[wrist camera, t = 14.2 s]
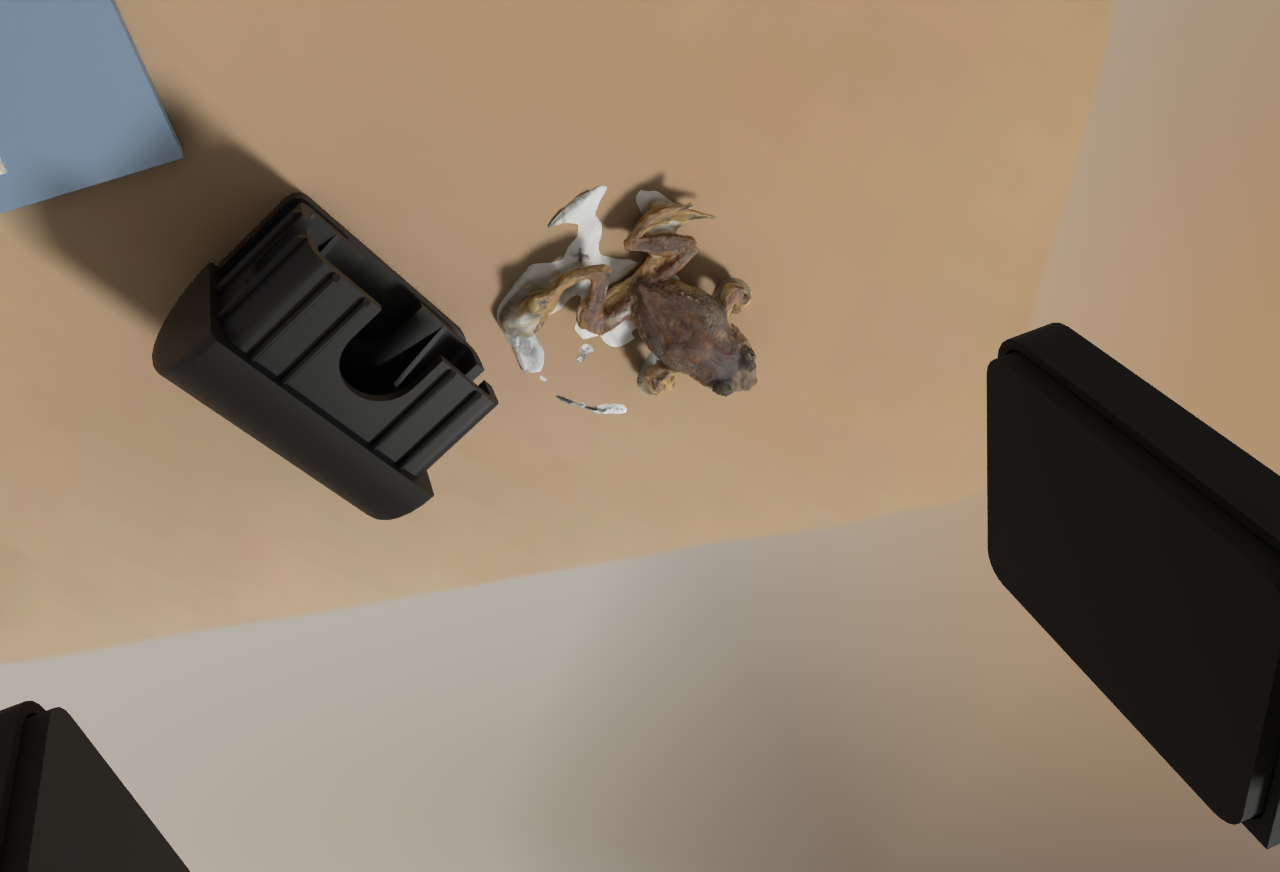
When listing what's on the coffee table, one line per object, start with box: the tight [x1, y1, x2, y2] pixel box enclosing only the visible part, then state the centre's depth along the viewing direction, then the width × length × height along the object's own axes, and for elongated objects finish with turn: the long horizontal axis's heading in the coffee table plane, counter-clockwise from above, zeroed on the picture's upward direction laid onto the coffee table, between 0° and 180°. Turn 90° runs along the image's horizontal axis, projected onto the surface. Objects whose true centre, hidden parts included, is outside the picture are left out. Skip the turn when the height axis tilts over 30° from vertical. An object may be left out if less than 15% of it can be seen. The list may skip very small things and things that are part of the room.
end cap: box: [152, 193, 498, 520], centre depth 40 cm, size 10×7×7 cm
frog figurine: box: [497, 185, 757, 414], centre depth 46 cm, size 12×12×4 cm
